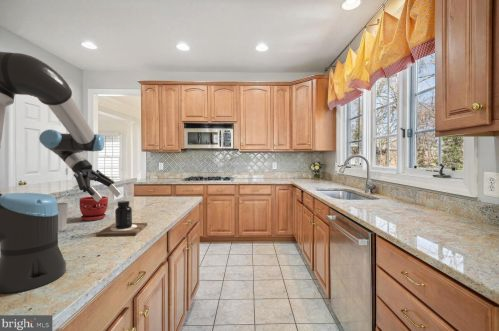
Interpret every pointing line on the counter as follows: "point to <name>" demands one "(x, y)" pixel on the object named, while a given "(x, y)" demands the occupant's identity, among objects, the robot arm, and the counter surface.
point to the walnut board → (122, 230)
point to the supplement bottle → (123, 215)
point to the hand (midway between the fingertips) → (110, 197)
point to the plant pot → (93, 208)
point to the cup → (62, 215)
